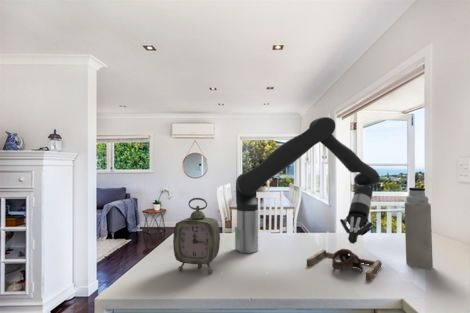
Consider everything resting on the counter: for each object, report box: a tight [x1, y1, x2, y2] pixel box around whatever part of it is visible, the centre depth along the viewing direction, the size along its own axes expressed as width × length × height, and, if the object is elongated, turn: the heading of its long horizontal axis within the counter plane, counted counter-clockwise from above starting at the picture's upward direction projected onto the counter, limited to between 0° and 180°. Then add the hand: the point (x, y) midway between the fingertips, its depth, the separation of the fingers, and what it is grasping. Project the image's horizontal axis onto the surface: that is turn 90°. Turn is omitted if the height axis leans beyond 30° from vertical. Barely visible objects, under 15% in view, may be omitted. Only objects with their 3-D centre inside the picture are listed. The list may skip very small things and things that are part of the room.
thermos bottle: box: [403, 187, 434, 270], centre depth 99 cm, size 8×8×28 cm
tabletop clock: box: [172, 197, 221, 275], centre depth 95 cm, size 14×9×25 cm, turn 77°
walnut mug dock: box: [306, 249, 383, 282], centre depth 97 cm, size 16×21×2 cm
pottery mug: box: [331, 248, 364, 273], centre depth 95 cm, size 12×10×8 cm
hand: (351, 242), depth 105 cm, fingers closed
